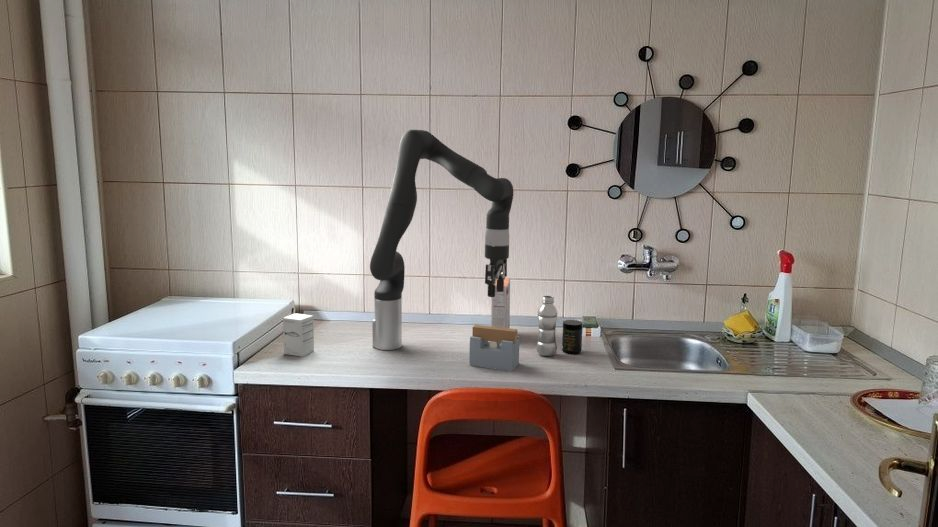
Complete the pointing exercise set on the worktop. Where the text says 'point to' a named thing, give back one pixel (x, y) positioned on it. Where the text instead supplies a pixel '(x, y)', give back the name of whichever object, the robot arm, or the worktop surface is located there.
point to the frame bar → (495, 333)
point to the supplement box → (298, 334)
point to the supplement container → (572, 337)
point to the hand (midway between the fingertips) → (495, 294)
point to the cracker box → (501, 306)
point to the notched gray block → (494, 354)
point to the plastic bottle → (547, 327)
